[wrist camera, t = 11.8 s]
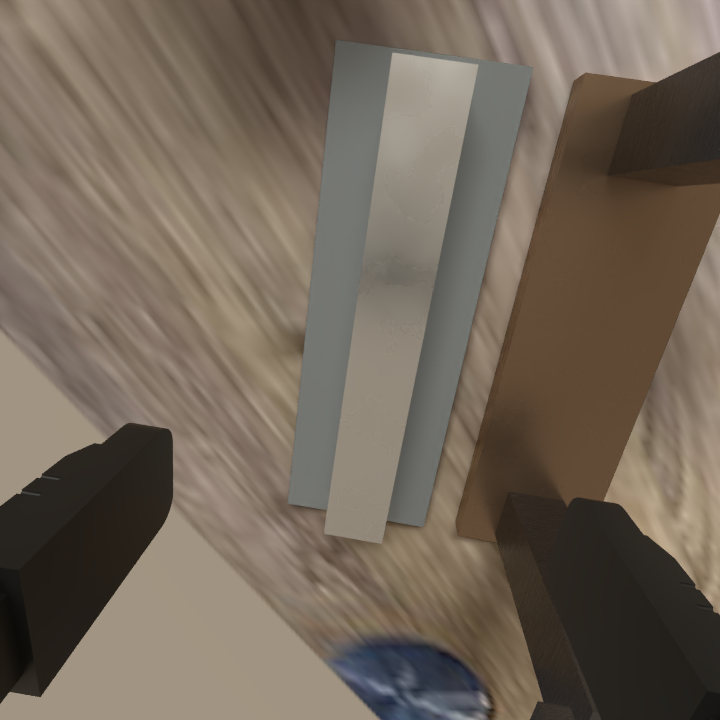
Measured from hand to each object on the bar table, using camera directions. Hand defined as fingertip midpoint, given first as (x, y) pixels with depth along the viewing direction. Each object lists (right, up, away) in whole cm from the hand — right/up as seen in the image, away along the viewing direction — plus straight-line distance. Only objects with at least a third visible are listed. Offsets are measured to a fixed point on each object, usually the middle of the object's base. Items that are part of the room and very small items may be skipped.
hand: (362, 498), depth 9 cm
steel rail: (+1, +4, +13) cm, 14 cm away
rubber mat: (+1, +5, +14) cm, 15 cm away
